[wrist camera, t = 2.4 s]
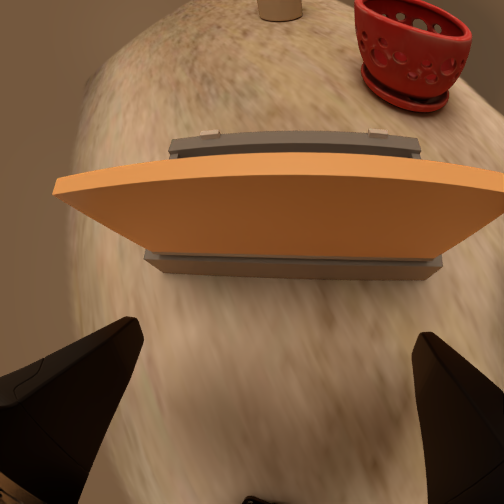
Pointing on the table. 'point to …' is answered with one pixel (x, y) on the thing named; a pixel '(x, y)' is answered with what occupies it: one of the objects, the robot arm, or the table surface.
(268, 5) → the travel mug
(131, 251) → the table surface
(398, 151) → the grey rectangular tray
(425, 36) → the plant pot
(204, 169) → the cover
